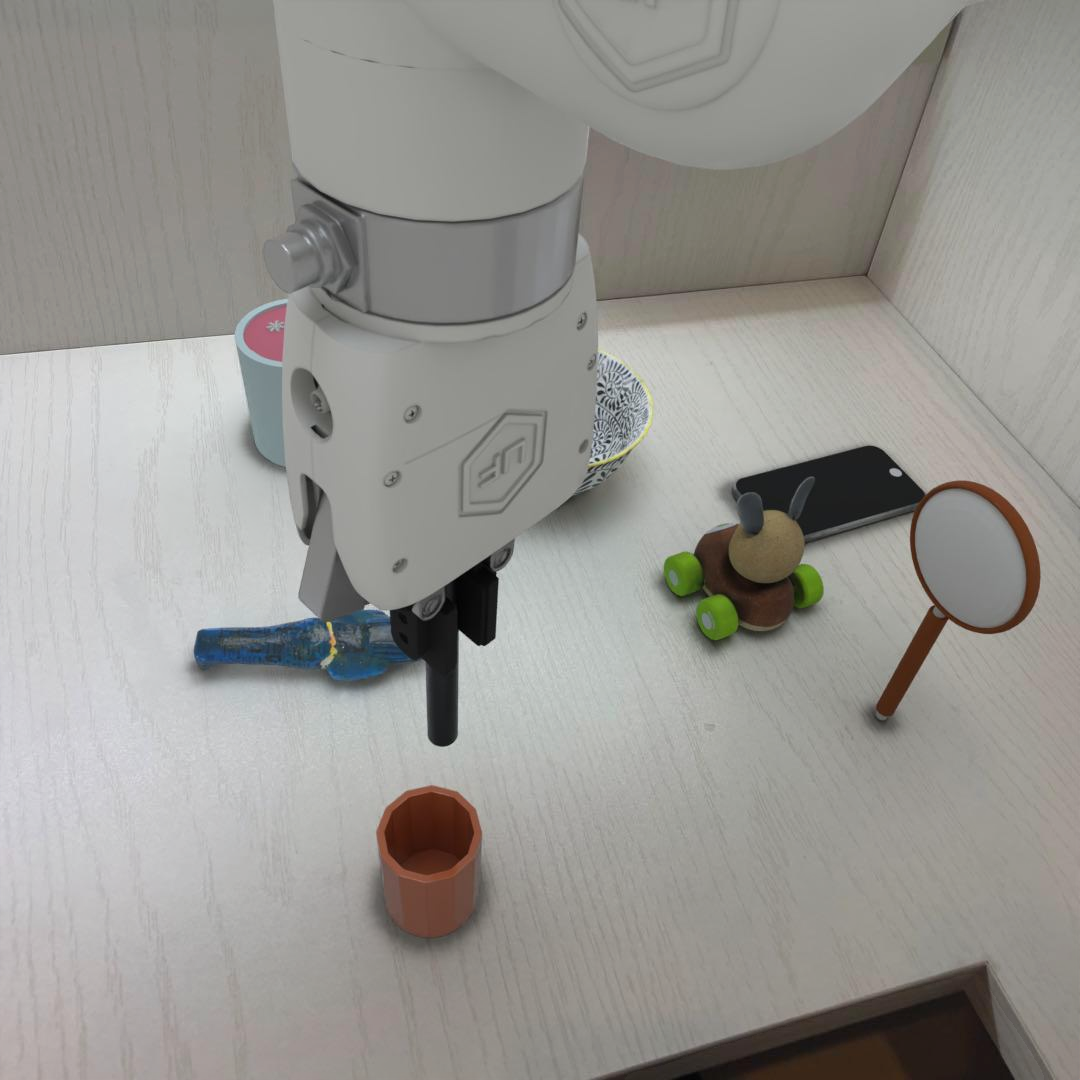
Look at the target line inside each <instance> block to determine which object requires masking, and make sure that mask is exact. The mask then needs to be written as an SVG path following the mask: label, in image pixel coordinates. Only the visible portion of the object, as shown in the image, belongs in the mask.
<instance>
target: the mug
mask: <svg viewBox="0 0 1080 1080" xmlns="http://www.w3.org/2000/svg"><path fill="white" fill-rule="evenodd" d="M287 301H288V298H283V299H278V300H274V301H270V302H267V303H264V304H262V305H260V306H257V307H256V308H254V309H252V310H251V311H249V312H248V313H247V314H246V315H243V317H242V318H241V319H240V320H239V322H238V324H237V325H236V328H235V331H234V342H235V346H236V353H237V356H238V361H239V368H240V372H241V373H240V374H241V378H242V382H243V387H244V393H245V397H246V402H247V403H246V404H247V408H248V413H249V419H250V423H251V429H252V434H253V439H254V443H255V447H256V449H257V451H258V452H259V454H261V456H263V457H264V458H265V459H266V460H268V461H270V462H271V463H273V464H274V465H277V466H280V467H283V468H286V462H285V450H284V435H283V416H282V359H283V344H284V328H285V317H286V309H287Z"/></svg>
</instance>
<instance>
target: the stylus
mask: <svg viewBox="0 0 1080 1080" xmlns="http://www.w3.org/2000/svg"><path fill="white" fill-rule="evenodd" d="M445 596H446V597H447V598H449V599H450V600H451V601H452V602H453V603H454V604H455V605H456V607H457V611H458V621H457V664H456V667H455V669H454V670H453V671H452V672H450V673H449V674H448V675H446V676H445V677H443V676H441V675H440V674H438V673H437V672H436V671H435V670H434V669H433V668H432V667H430V666H429V665H428V664H427V663H426V662H425V661H424V662H425V664H424V665H425V668H424V669H425V670H424V671H425V693H426V695H425V697H426V700H425V701H426V727H427V729H426V730H427V731H426V732H427V733H426V734H427V738H428V741H429V742H430V743H431V744H432V745H434V746H435V747H440V748H444V747H445V748H446V747H449V746H451V745H452V744H454V743H455V742H456V740H457V738H458V737H459V672H460V671H459V665H460V664H459V663H460V661H459V659H460V657H459V655H460V653H459V651H460V643H459V642H460V631H459V577H457V578H456V579H454V580H453V581H451V582H450V583H448V584H447V585H445Z"/></svg>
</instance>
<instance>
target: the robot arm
mask: <svg viewBox="0 0 1080 1080" xmlns="http://www.w3.org/2000/svg"><path fill="white" fill-rule="evenodd" d="M987 1H988V0H272V8H273V16H274V17H273V18H274V25H275V34H276V40H277V49H278V57H279V66H280V73H281V81H282V88H283V89H282V90H283V98H284V105H285V115H286V123H287V130H288V138H289V146H290V156H291V164H292V172H293V178H291V179H290V190H291V196H292V197H291V198H292V206H293V211H294V223H292V224H291V225H288V226H287V228H286V230H285V232H284V233H282V234H279V235H277V236H274V237H271V238H269V239H267V240H266V241H265V242H263V245H262V246H263V247H262V256H263V257H262V258H263V262H264V265H265V268H266V270H267V272H268V274H269V276H270V278H271V280H272V281H273V283H274V284H275V285H276V286H277V287H278V289H280V291H282V292H283V293H286V294H287V299H288V301H287V309H286V317H285V328H284V344H283V359H282V416H283V435H284V450H285V462H286V467H285V470H286V479H287V487H288V496H289V502H290V505H291V512H292V516H293V521H294V525H295V528H296V532H297V534H298V537H299V539H300V541H301V542H302V543H303V544H304V545H306V546H308V549H307V553H306V557H305V561H304V566H303V571H302V575H301V580H300V584H299V588H298V594H297V595H298V597H297V599H298V600H299V601H300V602H301V603H302V604H303V605H304V606H305V607H306V608H307V609H308V610H309V611H310V612H311V613H313V615H314V616H316V618H319V619H320V620H321V621H323V622H330V621H333V620H336V619H338V618H341V617H344V616H347V615H349V614H352V613H355V612H358V611H360V610H365V606H368V605H370V604H371V605H372V606H373V607H375V608H376V609H377V610H380V611H389V617H390V624H391V635H392V638H393V640H394V642H395V643H396V645H397V646H398V648H399V649H400V650H401V651H402V652H403V653H405V654H406V655H407V656H408V657H409V658H410V659H412V660H414V661H415V660H418V659H419V658H421V659H422V660H423V661H424V662H426V663H427V664H428V665H429V666H430V667H432V668H433V669H434V670H435V671H436V672H437V673H438V674H440V675H441V676H443V677H445V676H446V675H448V674H449V673H450V672H452V671H453V670H454V669H455V667H456V664H457V621H458V611H457V607H456V605H455V604H454V603H453V602H452V601H451V600H450V599H449V598H447V597H446V596H445V585H447V584H448V583H450V582H451V581H453V580H454V579H456V578H457V577H459V632H460V633H461V634H462V635H464V637H466V638H467V639H469V640H470V641H471V642H472V643H473V644H475V645H476V646H478V647H481V646H482V647H486V646H488V645H489V644H490V643H492V642H493V641H494V640H495V639H496V637H497V622H498V621H497V619H498V602H499V601H498V600H499V584H500V583H499V582H500V581H499V580H500V579H499V578H500V577H498V576H497V574H498V573H497V572H499V571H501V570H503V569H504V568H505V567H507V565H508V564H509V563H510V561H511V560H512V557H513V555H514V551H515V542H516V538H518V537H519V536H520V535H522V534H523V533H524V532H526V531H527V530H529V529H530V528H532V527H533V526H534V525H536V524H537V523H539V522H540V521H541V520H544V518H546V517H547V516H549V515H550V514H551V513H553V512H554V511H555V510H557V509H558V508H559V507H561V505H563V504H565V502H567V501H568V500H569V499H570V498H572V497H573V496H574V495H573V494H574V493H575V492H576V490H577V489H578V488H579V487H580V485H581V484H582V482H583V481H584V479H585V476H586V473H587V469H588V464H589V459H590V454H591V446H592V438H593V428H594V418H595V405H596V391H597V370H598V349H599V321H598V320H599V319H598V302H597V292H596V291H597V290H596V280H595V273H594V268H593V261H592V256H591V255H592V254H591V250H590V246H589V244H588V242H587V240H586V239H585V237H584V236H583V235H582V234H580V221H581V213H582V212H581V211H582V203H583V193H584V184H585V176H586V175H585V173H586V171H585V170H586V162H587V156H588V155H587V154H588V145H589V137H590V129H592V130H594V131H596V132H597V133H600V134H601V135H603V136H605V137H606V138H609V139H610V140H612V141H614V142H616V143H618V144H620V145H623V146H625V147H627V148H629V149H631V150H634V151H636V152H638V153H641V154H643V155H647V156H649V157H652V158H653V157H654V158H655V159H659V160H662V161H665V162H668V163H671V164H673V165H677V166H684V167H692V168H699V169H706V170H713V171H728V170H739V169H749V168H759V167H764V166H768V165H772V164H774V163H778V162H781V161H784V160H786V159H789V158H791V157H794V156H797V155H799V154H801V153H805V152H806V151H808V150H811V149H812V148H815V147H816V146H818V145H820V144H822V143H824V142H825V141H827V140H828V139H830V138H831V137H833V136H834V135H836V134H837V133H839V132H840V131H841V130H843V129H844V128H845V127H846V126H848V125H849V124H851V123H852V122H853V121H855V120H856V119H857V118H858V117H860V116H861V115H862V114H864V113H865V112H866V111H867V110H868V109H869V108H870V107H871V106H872V105H873V104H874V103H875V102H876V101H877V100H878V99H880V97H881V96H882V95H883V94H884V93H885V92H886V91H887V90H888V89H889V88H890V87H891V86H892V85H893V83H894V82H895V81H896V80H897V79H898V78H899V77H900V76H901V75H902V74H903V73H904V72H905V71H906V69H908V67H910V65H911V64H912V63H913V62H914V61H915V60H916V59H917V58H919V56H920V55H921V54H922V53H923V52H924V51H925V50H926V49H927V48H928V47H929V45H930V44H931V43H932V42H933V41H934V40H935V39H936V38H937V37H938V35H939V34H940V33H941V32H942V31H943V30H944V29H945V28H946V27H947V26H948V25H949V24H950V23H951V22H952V21H953V19H955V18H956V17H957V15H958V14H960V12H961V11H962V10H963V9H964V8H965V7H968V6H971V5H974V4H978V3H982V2H987ZM572 495H573V496H572Z"/></svg>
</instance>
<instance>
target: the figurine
mask: <svg viewBox="0 0 1080 1080" xmlns="http://www.w3.org/2000/svg"><path fill="white" fill-rule="evenodd" d="M193 657H194V660H195V663H196V666H197V667H198V669H201V670H207V669H209V668H210V667H211V666H212V667H213V666H215V665H245V666H276V667H277V666H278V667H284V668H289V669H291V668H292V669H297V670H298V669H299V670H326V671H327V673H328V675H329V676H330V678H332V679H333V680H335V681H342V682H345V681H359V680H364V679H368V678H373V677H376V676H379V675H382V674H384V673H385V672H386V671H387V669H388V667H392V666H397V665H402V664H410V663H416V662H421V661H422V660H423V659H421V658H419V659H418V660H415V661H414V660H412V659H410V658H409V657H408V656H407V655H406V654H405V653H403V652H402V651H401V650H400V649H399V648H398V646H397V645H396V643H395V642H394V640H393V638H392V635H391V624H390V615H388V614H387V613H385V612H384V610H379V609H363V610H360V611H358V612H355V613H352V614H349V615H347V616H344V617H341V618H338V619H336V620H333V621H330V622H323V621H321V620H320V619H319V618H318V617H309V618H304V619H301V620H296V621H290V622H284V623H280V624H275V625H269V626H255V627H254V626H252V627H251V626H249V627H248V626H247V627H245V626H242V627H241V626H240V627H239V626H237V627H236V626H234V627H233V626H231V627H228V626H227V627H209V628H201V629H199V630H198V631H197V633H196V635H195V641H194V645H193Z"/></svg>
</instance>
